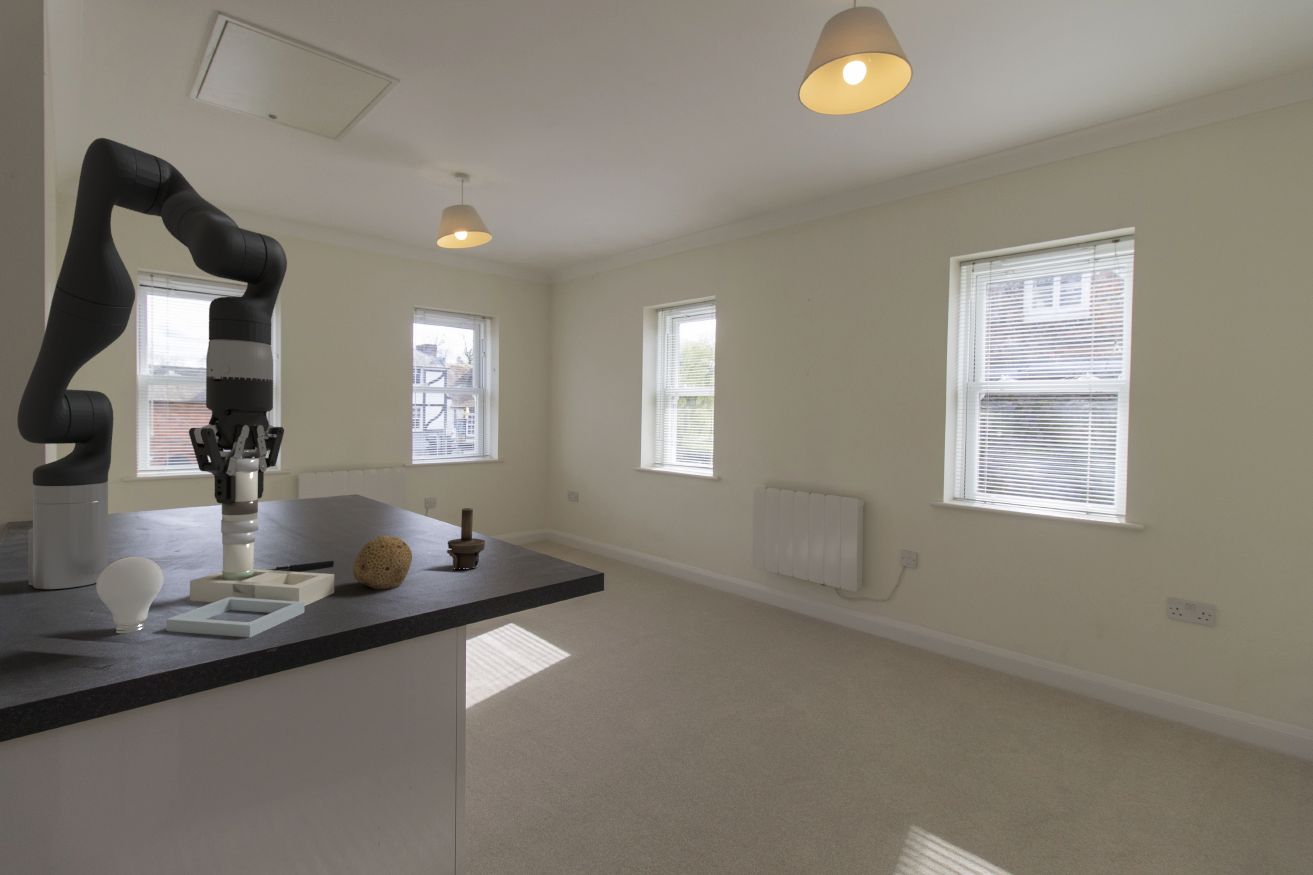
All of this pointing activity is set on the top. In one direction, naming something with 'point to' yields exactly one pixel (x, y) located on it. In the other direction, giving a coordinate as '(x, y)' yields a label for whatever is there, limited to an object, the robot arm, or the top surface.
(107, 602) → the light bulb
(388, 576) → the natural sponge
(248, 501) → the cream and grey canister
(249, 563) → the fuse
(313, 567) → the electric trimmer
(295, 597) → the cream divided tray
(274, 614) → the tray
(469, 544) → the industrial component
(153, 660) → the top surface
